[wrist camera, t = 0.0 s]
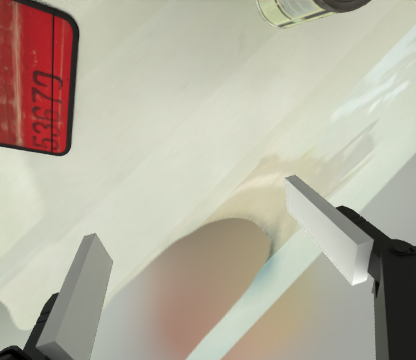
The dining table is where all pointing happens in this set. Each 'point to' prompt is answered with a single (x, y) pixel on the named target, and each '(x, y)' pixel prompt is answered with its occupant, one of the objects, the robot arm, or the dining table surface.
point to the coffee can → (302, 10)
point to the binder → (36, 77)
